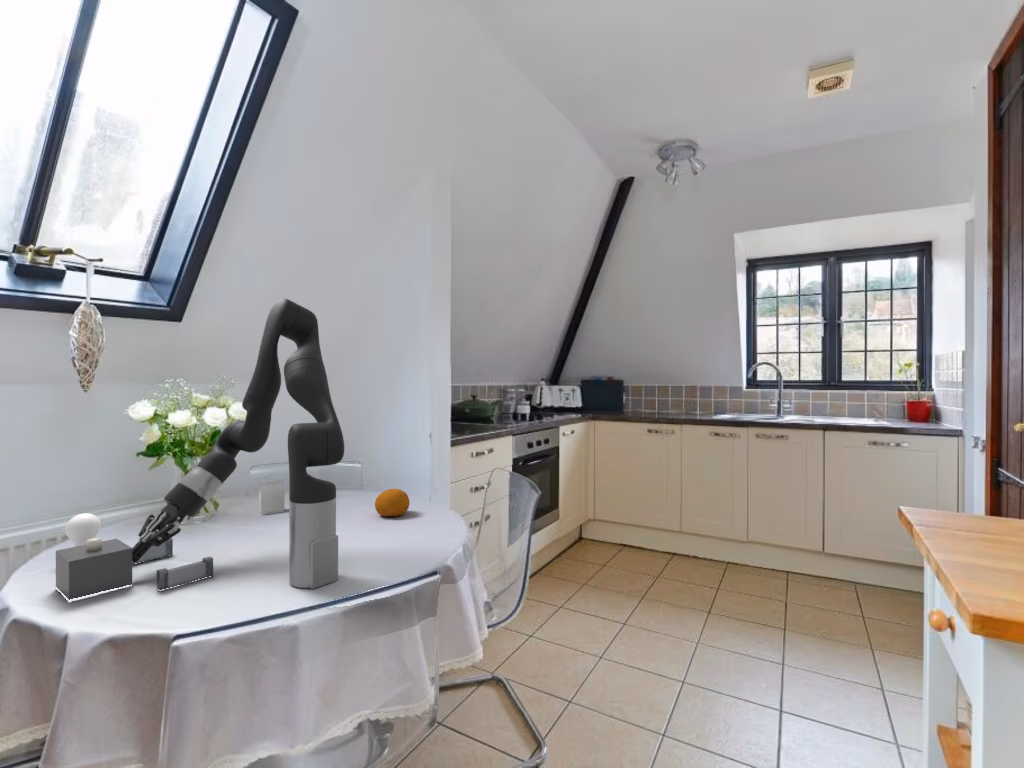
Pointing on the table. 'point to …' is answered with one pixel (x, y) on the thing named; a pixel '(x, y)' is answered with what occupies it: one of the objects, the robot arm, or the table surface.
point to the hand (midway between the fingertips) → (130, 559)
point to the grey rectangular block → (271, 497)
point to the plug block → (93, 567)
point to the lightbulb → (82, 528)
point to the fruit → (392, 502)
